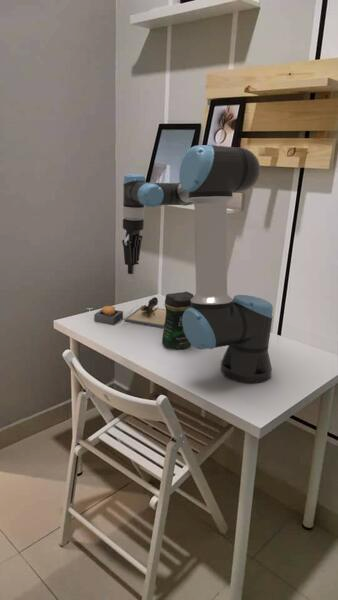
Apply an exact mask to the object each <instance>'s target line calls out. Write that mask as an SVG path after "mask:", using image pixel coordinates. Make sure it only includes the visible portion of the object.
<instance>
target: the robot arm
mask: <svg viewBox="0 0 338 600" xmlns="http://www.w3.org/2000/svg"><path fill="white" fill-rule="evenodd" d="M260 173H261V165H260V162H259V160H258V157H257V156H256V155H255V154H254V152H252V151H251V150H249V149H247V148H244V147H239V146H235V147H234V146H224V145H213V144H206V145H205V144H203V145H199V144H198V145H194V146H192V147H190V148H189V149H188V150H187V151H186V153H184V156H183V157H182V160H181V162H180V166H179V173H178V176H179V182H177V183H176V182H172V183H171V182H146V177H145V175H144V174H139V173H138V174H137V173H126V174H124V178H123V201H122V202H123V206H122V209H121V210H122V217H123V219H122V230H125V231H126V233H125V239H122V241H121V243H122V245H123V259H124V265H126V266H127V275H126V276H127V277H126V278H127V279H126V280H127V281H126V282H129V283H133V284H134V283H136V277H137V276H136V274H137V265H139V260H140V255H141V248H142V247H141V246H142V241H143V235H140V234H141V233H140V231H143V230H144V225H145V223H144V218H145V207H147V208H148V207H151V208H156V207H158V206H185V207H186V206H192V205H193V206H194V248H195V249H194V252H195V253H194V258H195V259H194V260H195V261H194V262H195V264H194V265H195V267H194V268H195V270H194V271H195V294H194V297H193V298H192V299H191V308H188V309H187V310H185V312H184V314H183V317H182V324H183V329H184V333H185V335H186V337H187V339H188V341H189V342H190V343H191V346H192V347H194V348H195V349H197V350H208V349H209V350H212V349H217V348H222V347H226V346H227V348H226V351H225V352H224V354H223V357H222V359H221V361H220V371H221V374H223V376H225V377H226V378H228V379H230V380H233V381H236V382H240V383H247V384H257V383H263V382H266V381H267V380H269V379H270V378H271V376H272V369H273V368H272V364H271V359H270V354H269V344H270V338H271V331H272V330H271V329H272V325H273V324H272V323H273V318H274V317H273V311H274V310H273V309H274V308H273V305H272V303H271V302H270V301H268V300H266V299H264V298H261V297H257V296H254V295H248V294H247V295H246V294H236V295H234V296H233V298H232V297H231V296H230V295H229V294H228V221H227V220H228V218H227V217H228V212H227V211H228V209H227V208H228V204H229V202H230V201H231V200H232V199H233V194H234V193H240V192H244V191H247V190H249V189H251V188H252V187H254V185H255V184H256V183H257V182H258V181H259V178H260Z"/></svg>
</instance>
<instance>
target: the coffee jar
mask: <svg viewBox="0 0 338 600" xmlns="http://www.w3.org/2000/svg"><path fill="white" fill-rule="evenodd" d="M194 296H195V294H192V292H189V291H183V292H175V293H167V294H166V295H165V299H164V309H165V310H166V318H165V325H164V329H163V332H162V338H161V339H162V340H161V343H162V345H163V347H165V348H166V349H170V350H173V351H174V350H175V351H177V350H182V349H183V350H184V349H188V348H190V347H191V346H192V345H191V343H190V342H189V341H188V339H187V337H186V335H185V333H184V329H183V324H182V317H183V314H184V312H185V310H187V309H188V308H191V299H192V298H193V297H194Z"/></svg>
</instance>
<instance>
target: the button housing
mask: <svg viewBox="0 0 338 600" xmlns="http://www.w3.org/2000/svg"><path fill="white" fill-rule="evenodd" d="M93 316H94V317H93V318H94V319H93V320H94V321H93V322H94V323H97V324H98V323H99V324H104V325H111V326H115V325H116V324H118V323H119V322H120V321H122V320H123V319H124V311H123V310H118V309H115V315H113V316H109V315H103V308H102V309H100V310H99V311H97V312H96V313H94V315H93Z"/></svg>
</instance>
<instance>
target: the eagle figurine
mask: <svg viewBox="0 0 338 600" xmlns="http://www.w3.org/2000/svg"><path fill="white" fill-rule="evenodd" d="M158 303H159V300H158V298H157V297H155V296H154V297H152V298H151V299H150V300H148V303H147V305H146V304H144V305H141V306H142V307H141V306H140V307H141V311H146V313H147V314H148V318H149V316H150V315H151V313H152V314H154V315H155V312H154V311H156V310H157V309H158V308H159V307H156V306H157V305H158ZM153 308H156V309H155V310H153Z"/></svg>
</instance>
